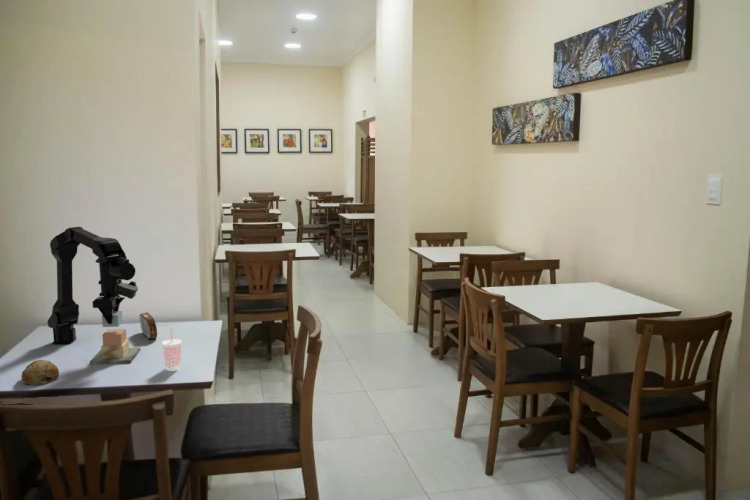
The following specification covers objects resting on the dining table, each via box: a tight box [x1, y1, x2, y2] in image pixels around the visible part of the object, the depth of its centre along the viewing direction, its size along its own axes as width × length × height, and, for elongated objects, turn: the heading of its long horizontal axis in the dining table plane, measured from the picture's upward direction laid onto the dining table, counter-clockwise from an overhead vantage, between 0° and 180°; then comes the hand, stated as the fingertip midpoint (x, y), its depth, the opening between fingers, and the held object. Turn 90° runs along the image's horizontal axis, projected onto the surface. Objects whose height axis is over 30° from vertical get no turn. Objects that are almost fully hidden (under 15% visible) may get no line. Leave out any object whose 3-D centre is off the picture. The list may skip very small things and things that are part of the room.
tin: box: [139, 311, 158, 340], centre depth 234 cm, size 15×3×8 cm, turn 34°
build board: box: [89, 339, 141, 365], centre depth 211 cm, size 13×13×5 cm
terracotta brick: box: [101, 328, 128, 346], centre depth 210 cm, size 6×6×4 cm
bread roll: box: [20, 359, 60, 386], centre depth 191 cm, size 10×10×8 cm
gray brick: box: [101, 310, 123, 328], centre depth 209 cm, size 5×5×4 cm
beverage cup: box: [161, 326, 182, 372], centre depth 200 cm, size 6×6×14 cm
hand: (112, 321), depth 209 cm, fingers closed on gray brick, 5 cm apart
